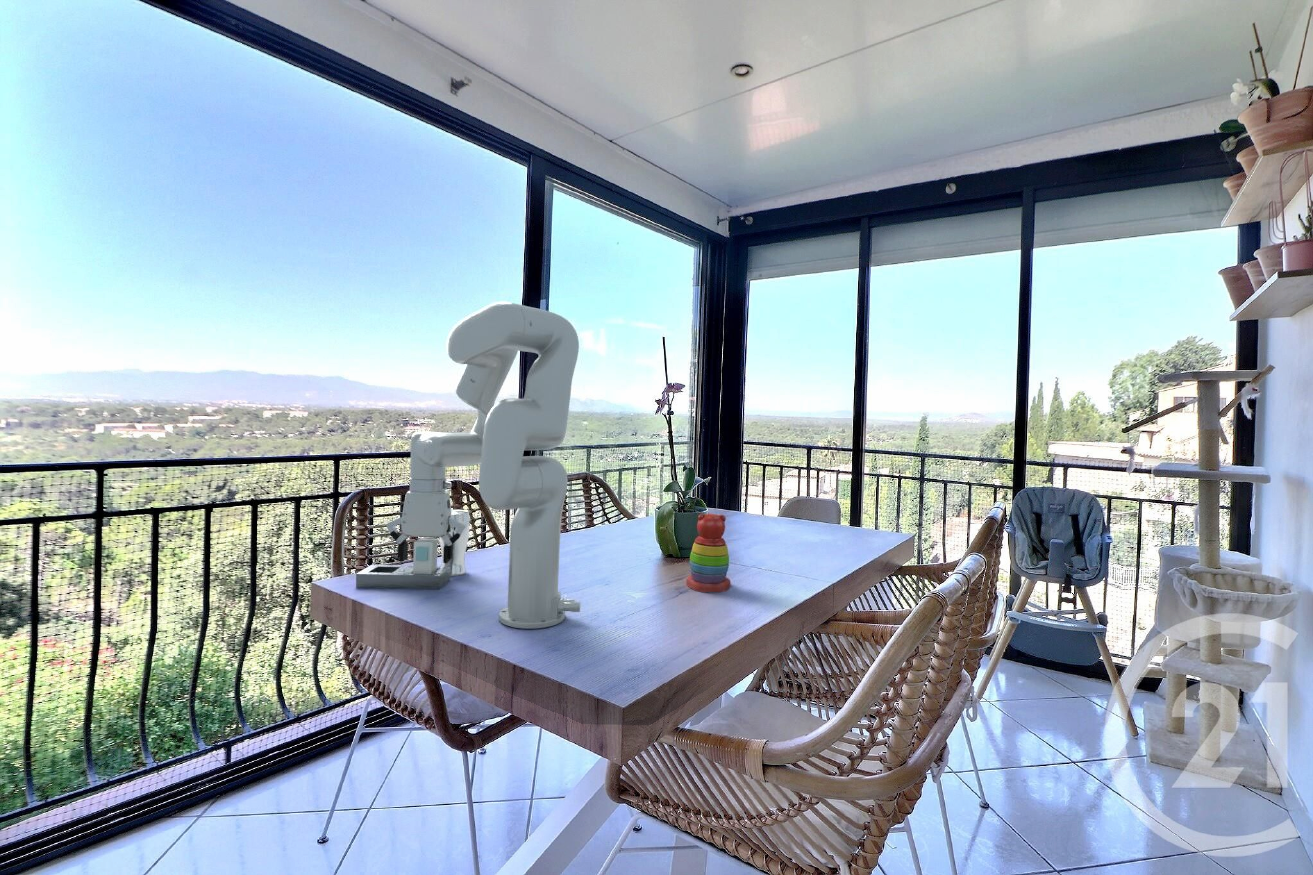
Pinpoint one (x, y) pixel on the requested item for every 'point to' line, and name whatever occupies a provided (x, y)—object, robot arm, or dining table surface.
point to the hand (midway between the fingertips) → (425, 561)
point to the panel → (401, 577)
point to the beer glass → (457, 544)
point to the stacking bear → (709, 556)
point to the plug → (425, 556)
